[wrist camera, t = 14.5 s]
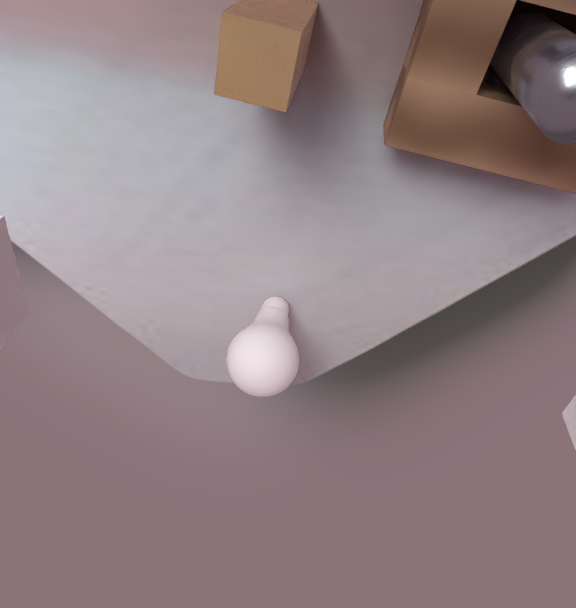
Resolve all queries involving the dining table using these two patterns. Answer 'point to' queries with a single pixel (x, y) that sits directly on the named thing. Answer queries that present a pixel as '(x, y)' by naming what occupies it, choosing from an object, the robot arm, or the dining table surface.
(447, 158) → the socket block
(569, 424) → the robot arm
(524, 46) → the cylinder
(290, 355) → the lightbulb
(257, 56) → the square bit
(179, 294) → the dining table surface
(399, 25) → the dining table surface
